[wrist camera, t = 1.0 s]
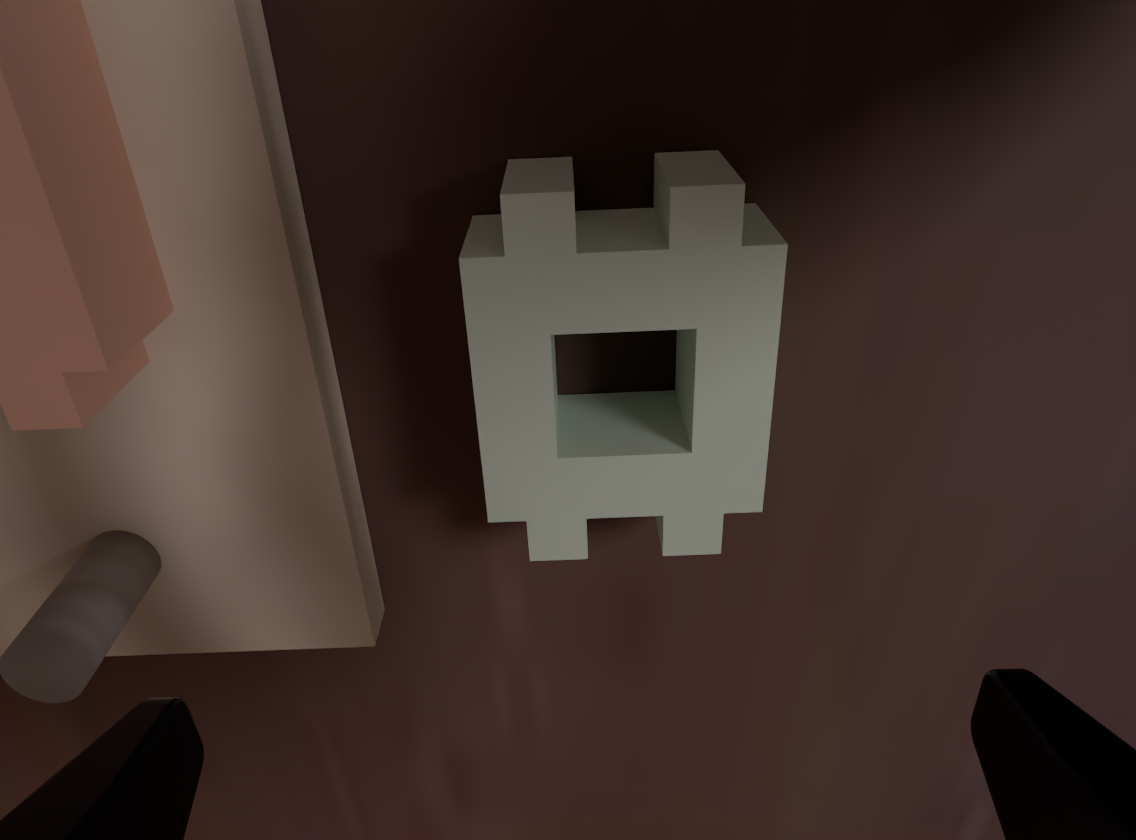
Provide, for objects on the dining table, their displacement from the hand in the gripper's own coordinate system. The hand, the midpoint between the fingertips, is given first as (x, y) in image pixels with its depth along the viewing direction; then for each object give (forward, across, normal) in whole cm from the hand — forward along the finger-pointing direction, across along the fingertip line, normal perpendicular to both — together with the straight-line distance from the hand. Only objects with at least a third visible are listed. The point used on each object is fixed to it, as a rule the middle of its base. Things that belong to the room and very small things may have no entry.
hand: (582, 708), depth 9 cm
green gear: (+12, -1, +1) cm, 12 cm away
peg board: (+12, +12, +1) cm, 17 cm away
